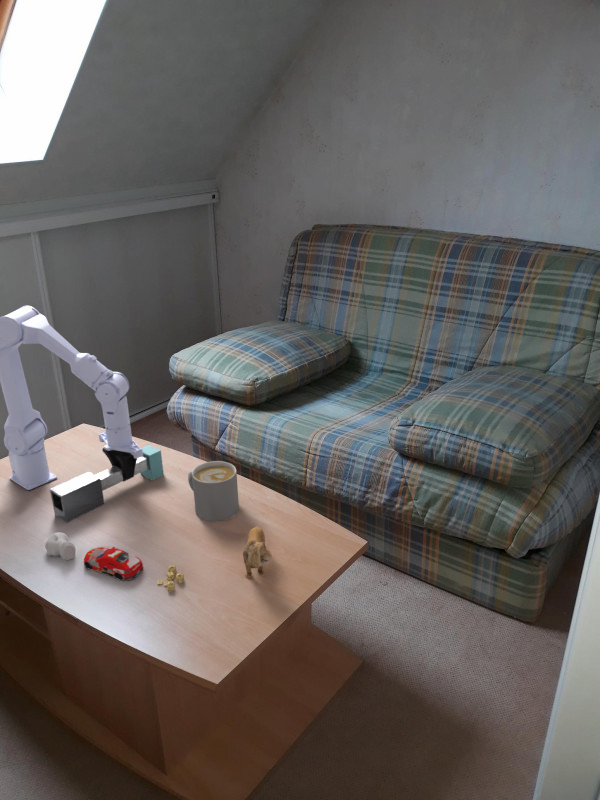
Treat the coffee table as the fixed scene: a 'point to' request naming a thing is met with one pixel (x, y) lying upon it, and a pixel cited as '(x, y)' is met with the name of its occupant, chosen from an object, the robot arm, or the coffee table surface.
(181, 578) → the gold nuggets
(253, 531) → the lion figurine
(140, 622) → the coffee table surface
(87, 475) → the graphite sleeve
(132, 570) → the race car
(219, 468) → the coffee mug
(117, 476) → the metal square rod
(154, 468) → the teal socket
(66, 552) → the pale two-lobed sculpture
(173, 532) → the coffee table surface
